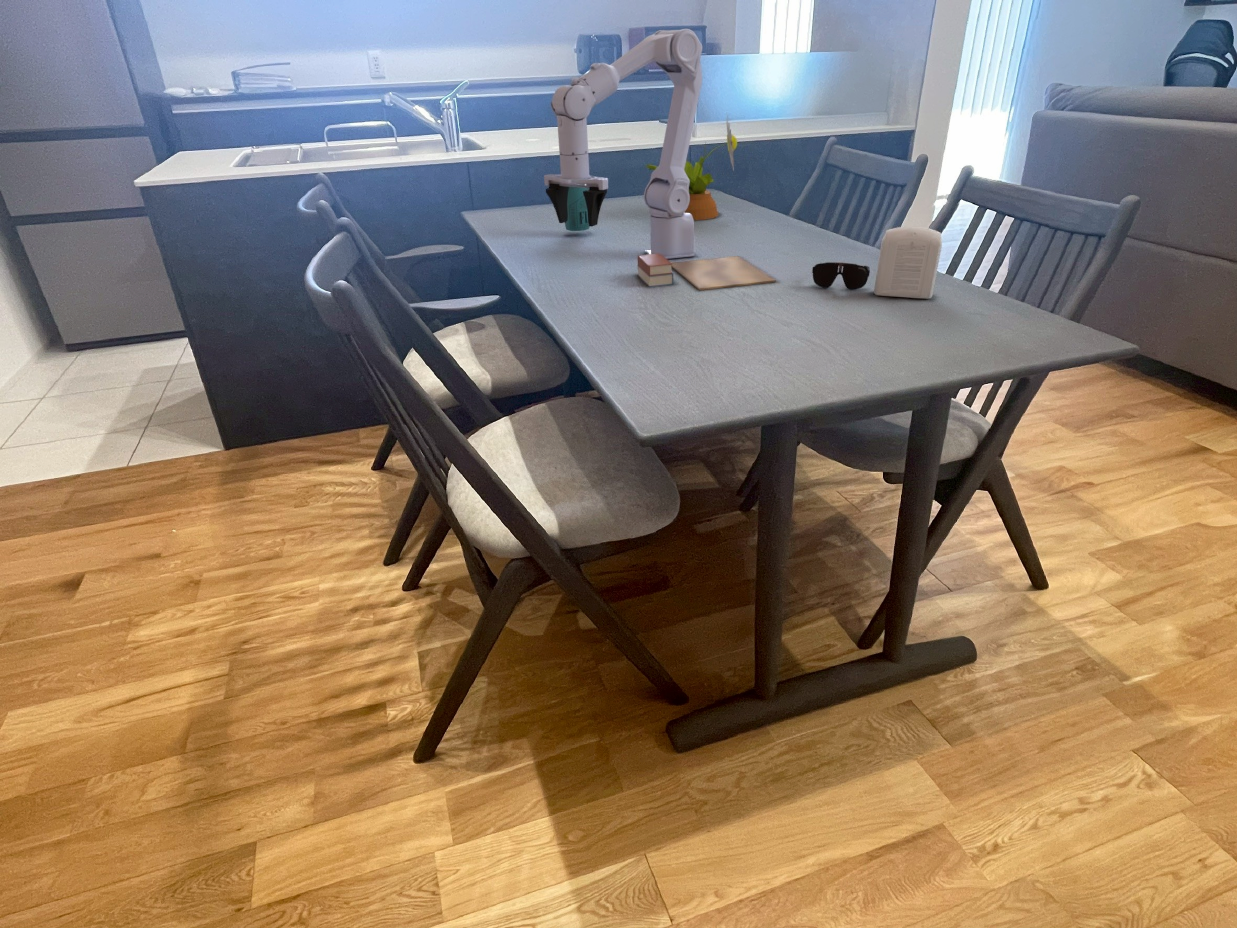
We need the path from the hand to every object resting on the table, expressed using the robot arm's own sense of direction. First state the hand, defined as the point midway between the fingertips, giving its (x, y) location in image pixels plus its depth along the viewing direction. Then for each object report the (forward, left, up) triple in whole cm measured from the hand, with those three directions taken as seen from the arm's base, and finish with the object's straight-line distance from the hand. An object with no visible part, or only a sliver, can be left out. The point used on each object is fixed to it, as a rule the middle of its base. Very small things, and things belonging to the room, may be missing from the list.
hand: (578, 223), depth 153 cm
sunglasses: (-47, +26, -10) cm, 55 cm away
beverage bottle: (-6, -34, -10) cm, 36 cm away
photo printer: (-53, +38, -10) cm, 66 cm away
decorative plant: (-40, -46, -10) cm, 62 cm away
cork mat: (-27, +12, -10) cm, 31 cm away
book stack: (-13, +12, -10) cm, 20 cm away
